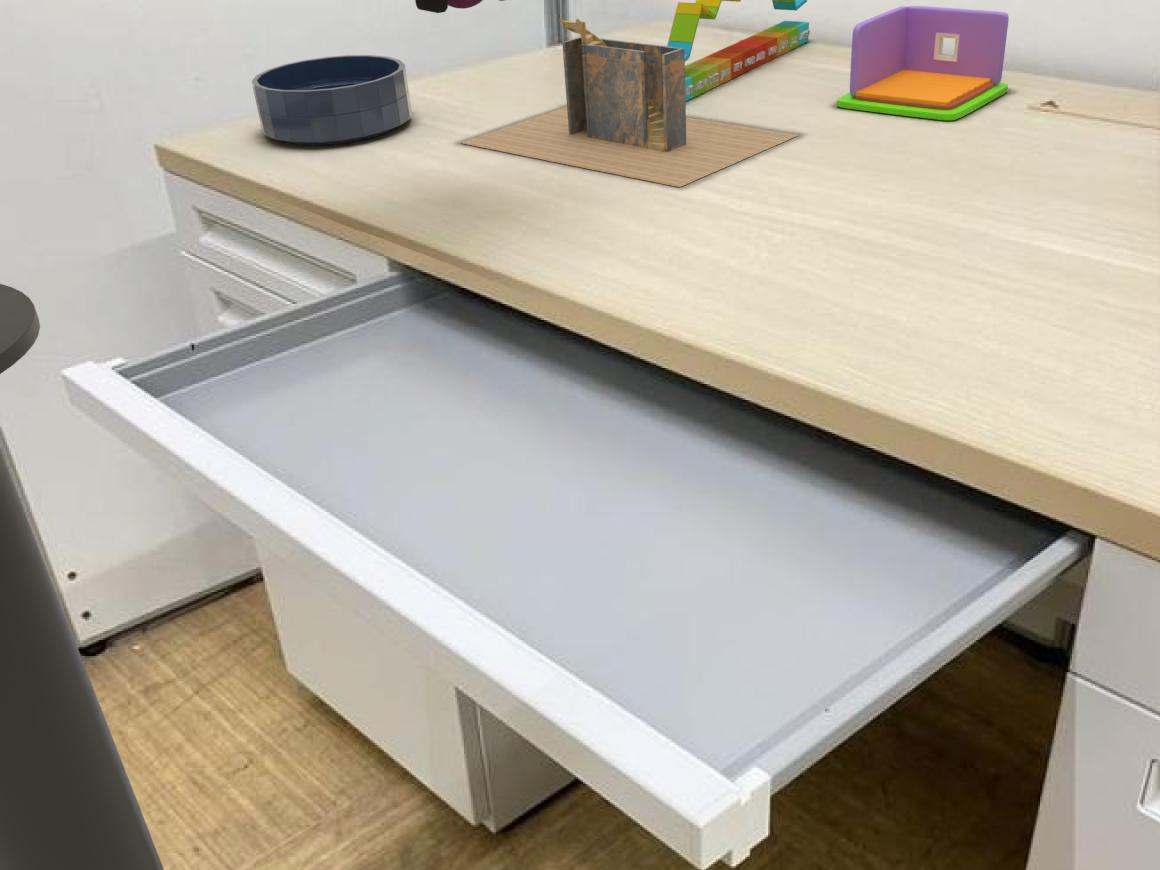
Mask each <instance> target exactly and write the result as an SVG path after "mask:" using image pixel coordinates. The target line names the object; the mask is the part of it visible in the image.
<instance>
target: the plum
mask: <svg viewBox="0 0 1160 870" xmlns="http://www.w3.org/2000/svg"><path fill="white" fill-rule="evenodd" d="M482 2H483V0H447V3H448V7H451V8H454V9H461V10H462V9H463V10H464V9H469V8H472V7H475V6H477V5H479V4H480V3H482Z"/></svg>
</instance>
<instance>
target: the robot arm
mask: <svg viewBox="0 0 1160 870" xmlns="http://www.w3.org/2000/svg"><path fill="white" fill-rule="evenodd" d="M414 1H415V6H416V8H417V9H418V10H420V11H425V12H430V13H435V14H441V13H445V12H447V10H448V8H449V6H448V3H447V0H414ZM499 1H500V2H504V1H505V0H499Z"/></svg>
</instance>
